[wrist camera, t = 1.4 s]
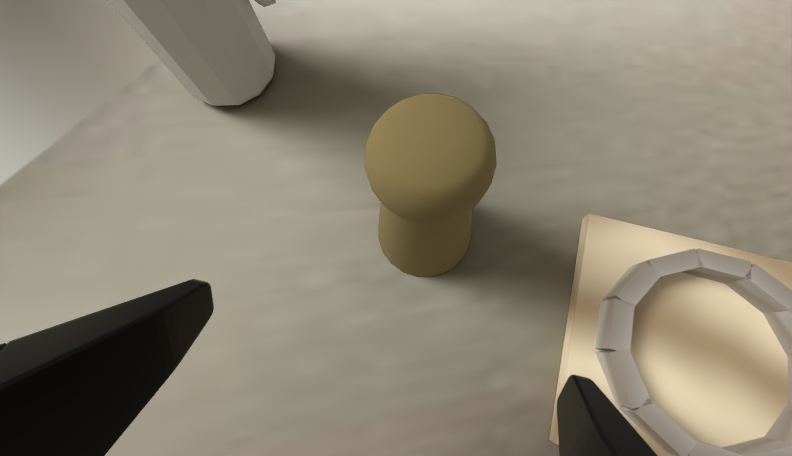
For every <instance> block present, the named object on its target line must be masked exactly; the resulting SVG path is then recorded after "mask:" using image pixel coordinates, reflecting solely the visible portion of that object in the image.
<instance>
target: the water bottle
mask: <svg viewBox="0 0 792 456" xmlns="http://www.w3.org/2000/svg"><path fill="white" fill-rule="evenodd" d="M108 1H109V2H110V3H111V4H112V6H113V7H114V8H115V9H116V10H117V11H118V12H119V14H120V15H121V16H122V17H123V18H124V19H125V20H126V21H127V23H128V24H129V25H130V26H131V27H132V28H133V29H134V30H135V32H136V33H137V34H138V35H139V36H140V37H141V38H142V39H143V41H144V42H145V43H146V44H147V45H148V46H149V47H150V48H151V50H152V51H153V52H154V53H155V54H156V55H157V56H158V57H159V59H160V60H161V61H162V62H163V63H164V64H165V65H166V66H167V68H168V69H169V70H170V71H171V72H172V73H173V74H174V75H175V76H176V78H177V79H178V80H179V81H180V82H181V83H182V84H183V85H184V87H185V88H186V89H187V90H188V91H189V92H190V93H191V94H192V96H193V97H195V98H198V99H200V100H202V101H204V102H206V103H208V104H210V105H212V106H219V105H241V104H243V103H244V102H246V101H248V100H250V99H252V98H254V97H256V96H258V95H260V93H261V92H262V91H263V90H264V88H265V87H266V86H267V84H268V83H269V82H270V80H271V79H272V77H273V73H274V63H275V53H274V51H273V49H272V47H271V45H270V43H269V41H268V39H267V37H266V35H265V33H264V31H263V29H262V26H261V24H260V22H259V20H258V18H257V16H256V14H255V12H254V10H253V8H252V6H251V4H250V2H249V0H108ZM255 1H256V2H257V3H259V4H260V5H262V6H263V7H265V6H268V5H271V4H274V3H276V2H275V0H255Z"/></svg>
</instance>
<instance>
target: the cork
mask: <svg viewBox="0 0 792 456" xmlns="http://www.w3.org/2000/svg"><path fill="white" fill-rule="evenodd" d="M495 168H496V151H495V141H494V137H493V135H492V133H491V131H490V129H489V127H488V125H487V122H486V121H485V120H484V119H483V118H482V117H481V116H480V115H479V114H478V113H477V112H476V111H475V110H474V109H473V108H472V107H471V106H470V105H468V104H466V103H465V102H463V101H461V100H459V99H457V98H455V97H451V96H447V95H443V94H438V93H437V94H419V95H415V96H412V97H409V98H405V99H403V100H401V101H400V102H398V103H397V104H395V105H394V106H392V107H390V108H389V109H388V110H387V111H385V113H384V114H383V115H382V116H381V117H380V118H379V120H378V121H377V122H376V123H375V124H374V125H373V128H372V130H371V133H370V135H369V138H368V140H367V143H366V149H365V169H366V172H367V176H368V179H369V182H370V185H371V188H372V191H373V192H374V194H375V195H376V196H377V197H378V199H379V200H380V201H381V205H380V216H379V237H378V238H379V242H380V245H381V248H382V251H383V253H384V254H385V256H386V257H387V258H388V260H389V261H390V262H391V264H393V265H394V266H396V267H397V268H398V269H400V270H401V271H403V272H405V273H408V274H411V275H414V276H418V277H426V276H436V275H439V274H442V273H445V272H448V271H449V270H450V269H452V268H453V267H454V266H456V265H457V264H458V263H459V262H460V261H461V260H462V258H463V257H464V255H465V254H466V252H467V251H468V247H469V243H470V240H471V231H472V214H473V207H474V206H476V205H477V204H478V203H479V201H480V200H481V198H482V197H483V196H484V194H485V193H486V191H487V190H488V188H489V186H490V184H491V182H492V179H493V175H494V171H495Z"/></svg>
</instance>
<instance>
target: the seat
mask: <svg viewBox="0 0 792 456" xmlns="http://www.w3.org/2000/svg"><path fill="white" fill-rule="evenodd" d="M571 375H578V376H582V377H586V378H589V379H591V380H592V381H593V382H594V383H595V384H596V385H597V386H598V387H599V388H600V389H601V391H602V392H603V393H604V394H605V395H606V396H607V398H608V399H609V400H610V401H611V402H612V403H613V404H614V406H615V407H616V408H617V409H618V410H619V411H620V413H621V414H622V415H623V416H624V417H625V418H626V419H627V421H628V422H629V423H630V424H631V425H632V426H633V427H634V429H635V430H636V431H637V432H638V433H639V434H640V436H641V437H642V438H643V439H644V440H645V441H646V442H647V444H648V445H649V446H650V447H651V448H652V449H653V450H654V452H655V453H656V454H657V455H658V456H792V263H791V262H787V261H783V260H779V259H775V258H770V257H766V256H762V255H758V254H754V253H750V252H746V251H742V250H738V249H733V248H729V247H725V246H721V245H717V244H713V243H709V242H705V241H700V240H696V239H692V238H688V237H684V236H680V235H676V234H672V233H668V232H663V231H659V230H655V229H651V228H647V227H643V226H639V225H635V224H631V223H626V222H622V221H618V220H614V219H610V218H606V217H602V216H598V215H593V214H588V215H587V216H586V217H584V218H583V219H582V224H581V231H580V238H579V245H578V251H577V258H576V265H575V271H574V278H573V285H572V292H571V298H570V305H569V312H568V318H567V325H566V332H565V339H564V345H563V352H562V359H561V365H560V372H559V379H558V386H557V392H556V399H555V406H554V412H553V419H552V426H551V433H550V439H549V440H551V441H552V442H554V443H555V444H556V445H559V438H558V422H557V400H558V397H559V395H560V393H561V391H562V389H563V387H564V385H565V383H566V381H567V379H568V378H569V376H571Z"/></svg>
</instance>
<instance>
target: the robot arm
mask: <svg viewBox="0 0 792 456" xmlns="http://www.w3.org/2000/svg"><path fill="white" fill-rule="evenodd" d="M213 308H214V306H213V299H212V292H211V286H210V284H209V283H207V282H204V281H200V280H196V279H192V280H189V281H186V282H183V283H180V284H177V285H174V286H171V287H168V288H165V289H162V290H159V291H156V292H153V293H150V294H148V295H145V296H142V297H139V298H136V299H133V300H130V301H127V302H124V303H121V304H118V305H115V306H112V307H109V308H106V309H103V310H101V311H98V312H95V313H92V314H89V315H86V316H83V317H80V318H77V319H74V320H71V321H68V322H65V323H62V324H59V325H56V326H54V327H51V328H48V329H45V330H42V331H39V332H36V333H33V334H30V335H27V336H24V337H21V338H18V339H15V340H12V341H10V342H9V343H8V344H6V343H3V344H0V456H105V454H106V453H107V452H108V451H109V449H110V448H111V447H112V446H113V445H114V443H115V442H116V441H117V440H118V438H119V437H120V436H121V435H122V434H123V432H124V431H125V430H126V429H127V428H128V426H129V425H130V424H131V423H132V421H133V420H134V419H135V418H136V417H137V415H138V414H139V413H140V412H141V410H142V409H143V408H144V407H145V406H146V404H147V403H148V402H149V401H150V399H151V398H152V397H153V396H154V395H155V393H156V392H157V391H158V390H159V388H160V387H161V386H162V385H163V384H164V382H165V381H166V380H167V379H168V377H169V376H170V375H171V374H172V372H173V371H174V370H175V369H176V367H177V366H178V364H179V363H180V362H181V360H182V359H183V357H184V356H185V354H186V353H187V351H188V350H189V348H190V347H191V345H192V344H193V342H194V341H195V339H196V338H197V337H198V335H199V334H200V332H201V331H202V329H203V328H204V326H205V325H206V323H207V322H208V320H209V319H210V317H211V315H212V313H213ZM557 422H558V438H559V453H560V456H658V455H657V454H656V453H655V452H654V450H653V449H652V448H651V447H650V446H649V445H648V444H647V442H646V441H645V440H644V439H643V438H642V437H641V436H640V434H639V433H638V432H637V431H636V430H635V429H634V427H633V426H632V425H631V424H630V423H629V422H628V421H627V419H626V418H625V417H624V416H623V415H622V414H621V413H620V411H619V410H618V409H617V408H616V407H615V406H614V404H613V403H612V402H611V401H610V400H609V399H608V398H607V396H606V395H605V394H604V393H603V392H602V391H601V389H600V388H599V387H598V386H597V385H596V384H595V383H594V382H593V381H592V380H591V379H589V378H586V377H582V376H578V375H571V376H569V378H568V379H567V381H566V383H565V385H564V387H563V389H562V391H561V393H560V395H559V397H558V400H557Z"/></svg>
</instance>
